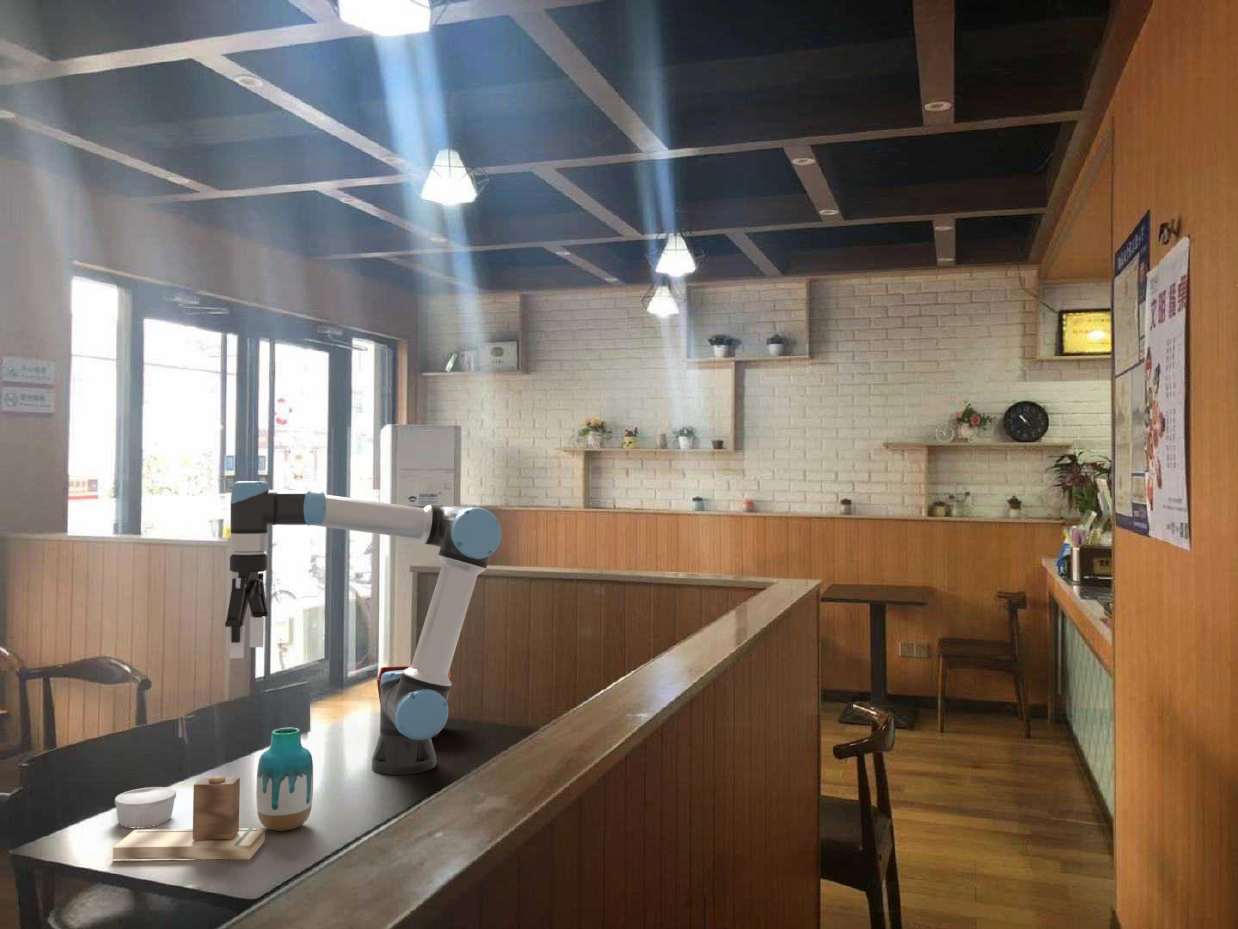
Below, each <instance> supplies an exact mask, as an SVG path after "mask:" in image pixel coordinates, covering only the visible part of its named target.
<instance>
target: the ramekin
mask: <svg viewBox="0 0 1238 929" xmlns="http://www.w3.org/2000/svg"><path fill="white" fill-rule="evenodd" d="M176 798H177V791H176V790H175V789H173V788H171V787H165V786H151V787H142V788H136V789H131V790H128V791H124V792H122V793H120V794H118V795H116V796H115V799H114V805H115V807H116V816H117V821H118V823H119V825H121V827H123V826H126V827H125V828H127V827H135V828H134V829H138V828H137V827H146V828H149V827H148V826H152V827H154V826H153V825H156V826H158V825H157V824H159V825H162V824H164V823H165V822H168V820H170V818H171V817H172V815H173V812H174V805H175V799H176ZM163 822H164V823H163ZM161 823H162V824H161Z"/></svg>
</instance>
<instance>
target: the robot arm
mask: <svg viewBox="0 0 1238 929" xmlns="http://www.w3.org/2000/svg"><path fill="white" fill-rule="evenodd" d="M231 485H232V486H231V491H230V492H231V493H230V494H231V496H230V536H229V537H228V538H227V540H228V541H227V542H230V544H229V546H230V547H229V549H230V552H231V555H229V571H230V572H232V573H238V575H237V577H236V578H235V577H233V578H232V580H231V593H230V598H229V604H228V609H227V616H226V620H225V622H224V625H225V627H226V628H229V653H228V654H229V656H228V658H229V659H244V658H245V626H244V621H245V617H246V614H247V609H248V606H249V609H250V613H251V617H250V619H249V622H250V623H249V648H263V647H264V632H265V631H264V628H265V626H264V625H265V622H264V621H265V618H266V617H268V616H269V612H268V605H267V599H266V592H265V584H264V572H266V571H267V570H268V555H267V553H265V552H267V551H269V550H268V548H269V546H268V544H269V543H268V542H269V540H268V538H269V533H268V531H269V529H268V526H271V525H272V526H277V525H280V526H281V525H282V526H284V525H285V526H308V527H309V526H316V527H324V528H332V529H338V530H346V531H354V532H361V533H367V534H368V533H369V534H376V535H382V536H383V535H385V536H392V537H400V538H407V539H416V540H419V541H420V543H421V544H422V545H430V546H434V547H438V548H439V551H438V555H437V557H438V559H439V561H440V563H441V568H440V570H439V574H438V577H437V580H436V584H435V588H434V591H433V593H432V597H431V600H430V603H429V607H428V610H427V614H426V616H425V619H424V624H423V626H422V630H421V634H420V636H419V640H418V643H417V646H416V649H415V653H414V656H413V659H412V662H411V665H409V666H410V667H409V668H407V669H405V670H398V671H389V672H385V673H383V675H382V676H381V684H380V687H381V701H380V700H379V706H380V709H379V710H380V714H379V715H380V716H379V718H380V719H379V722H380V723H379V737H378V740H377V743H376V745H375V749H374V752H373V755H372V758H371V769H372V770H373V771H374V772H376V773H380V774H382V775H391V776H405V775H407V776H408V775H415V774H420V773H424V772H427V771H430V770H432V769H434V768H435V767H436V766H437V754H436V751H435V748H434V744H433V742H432V738H431V737H433V736H435V735H436V734H438V733H439V734H440V732H441V731H442V730H443V728H444V727H445V725H446V723H447V722H448V717H449V705H448V700H447V699H448V698H449V695H450V693H451V689H452V685H453V683H452V682H451V678H450V679H449V678H448V672H449V669H450V670H451V666H452V663H453V662H452V661H453V658H454V655H455V651H456V648H457V645H458V642H459V638H460V636H461V632H462V629H463V625H464V622H465V618H466V615H467V612H468V610H469V604H470V602H471V599H472V594H473V591H474V588H475V586H476V582H477V578H478V576H479V575H480V574H481V573H483V572H485V571H487V569H488V568H487V567H488V564H489V561H490V558H491V555H493V553H495V552H496V550H497V549H498V547H499V545H500V544H501V540H502V527H501V524H500V522H499V520H498V518H497V516H495V515H494V514H493V513H492V512H491V511H489V510H487V509H486V508H483V507H481V506H477V505H470V506H469V505H452V506H450V505H449V506H448V505H447V506H445V505H444V506H442V505H441V506H439V505H432V504H428V505H426V506H424V507H416V506H410V505H401V504H395V503H390V502H389V503H388V502H382V501H374V500H369V499H367V500H366V499H362V498H361V499H359V498H352V497H347V496H338V495H332V494H326V493H325V492H323V491H322V490H321V491H320V490H312V489H311V490H309V489H308V490H297V489H292V488H291V489H286V490H273V489H270V487H269V483H268V481H260V480H259V481H257V480H256V481H254V480H253V481H251V480H250V481H248V480H247V481H246V480H245V481H244V480H243V481H241V480H238V481H235V482H234V483H233V484H231Z"/></svg>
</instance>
